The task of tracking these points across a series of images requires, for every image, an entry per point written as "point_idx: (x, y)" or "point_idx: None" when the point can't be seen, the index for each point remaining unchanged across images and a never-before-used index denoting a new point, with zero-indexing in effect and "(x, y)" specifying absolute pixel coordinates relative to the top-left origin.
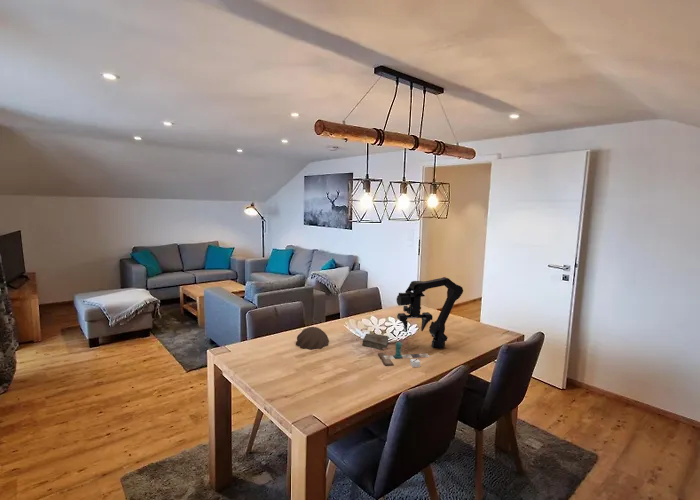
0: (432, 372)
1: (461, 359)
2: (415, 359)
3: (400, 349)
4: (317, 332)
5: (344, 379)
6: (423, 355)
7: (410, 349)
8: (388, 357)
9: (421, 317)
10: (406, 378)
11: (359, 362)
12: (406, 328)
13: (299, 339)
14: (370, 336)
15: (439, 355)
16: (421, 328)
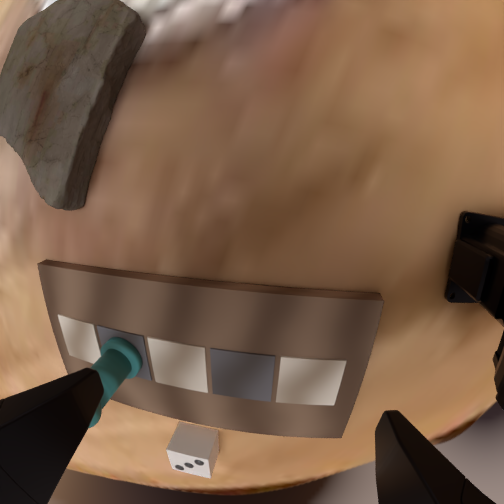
0: (262, 473)
1: (477, 400)
2: (193, 460)
3: (107, 401)
4: None
5: (7, 384)
6: (299, 384)
7: (270, 212)
8: (78, 341)
9: None
10: (150, 463)
11: (4, 310)
12: (65, 446)
13: None
14: (21, 57)
15: (425, 355)
16: (391, 449)
